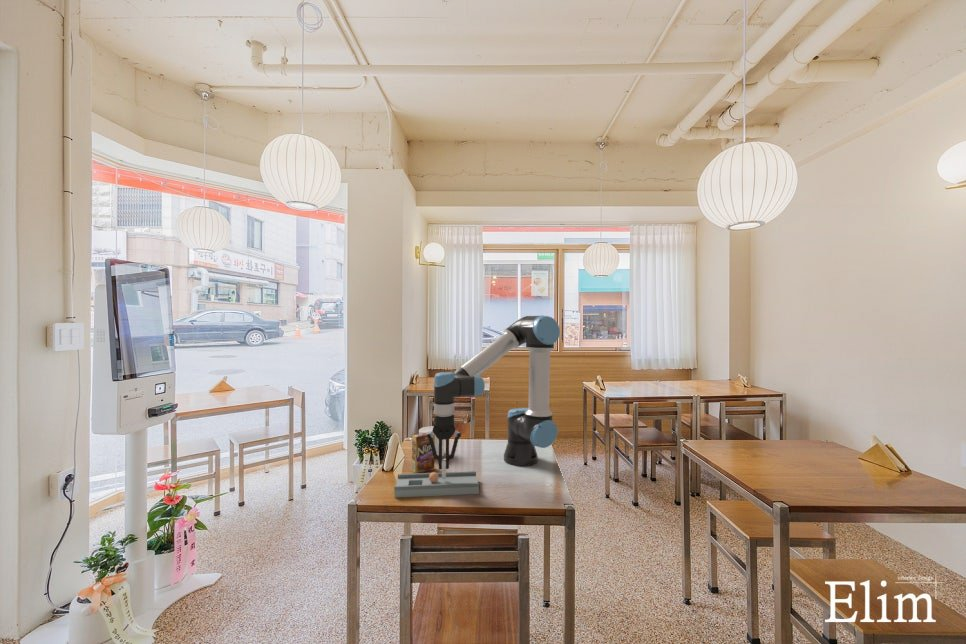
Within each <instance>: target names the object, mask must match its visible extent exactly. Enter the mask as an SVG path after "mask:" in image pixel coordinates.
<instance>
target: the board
mask: <svg viewBox="0 0 966 644" xmlns="http://www.w3.org/2000/svg"><path fill="white" fill-rule="evenodd" d="M431 473H432V472H425V473H424V472H420V473H416V474H415V473H398V474H397V479H396V482H395V483H396V484H395V485H394V486H393V487H394V494H393V495H394V498H396V499H397V498H414V497H415V498H416V497H432V496H433V497H434V496H435V497H439V496H440V497H441V496H456V495H457V496H458V495H459V496H461V495H462V496H463V495H464V496H465V495H479V494H480V483H479V481H478V477H477V471H476V470H473V471H471V470H470V471H449V472H448V471H446V479H442V472H436V473H437V474H438V476H439V479H438V481H437V482H435V483H432V482H431V481H430V480H429V475H430V474H431Z"/></svg>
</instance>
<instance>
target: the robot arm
mask: <svg viewBox="0 0 966 644" xmlns="http://www.w3.org/2000/svg"><path fill="white" fill-rule="evenodd" d="M560 334H561V331H560V325H559V324H558V322H557V321H556V319H555V318H553V317H552V316H548V315H526V316H523V317H521V318H519V319H518V320H515V322H513V323H512V324H511V325H509V326H508V327H506V328H505V329H504V330H503V333H502V334H501V335H500V336H499V337H497V338H496V339H495V340H493V341H492V342H491V343H490V344H488V345H487V346H486V347H485V348H483V349H482V350H481V351H480V352H478V353H477V354H476V355H474V356H473V357H472V358H470V359H469V360H467V362H465V363H464V364H463V365H462V366H460V367H458V368H457V369H456V370H454V371H449V372H448V371H447V372H446V371H445V372H444V371H442V372H436V373H435V375H434V380H433V394H434V395H433V414H434V416H433V426H434V427H433V430H432V431H431V432H428V433H427V437H428V439H429V440H430V444H431V448H432V452H433V457H434V459H435V460H437V462H438V469H439V470H441V473H442V479H446V472H447V470H449V468H450V460H454V458H455V454H456V451H457V446H458V442H459V439H460V438H461V436H462V433H461V431H458V430H456V427H455V415H454V414H455V398H465V397H466V398H467V397H477V396H482V395H483V394H484V392H485V380H484V378H483V377H482V376H480V375H481V374H482V373H484V371H486V370H487V369H489V368H490V367H492V366H493V365H494V364H495V363H496V362H497V361H499V360H500V359H501V358H503V357H504V356H505V355H506V354H507V353H509V352H510V351H512V350H513V349H514V348H515V349H517V348H519V347H520V346H521V345H524V344H525V348H526V349H527V350H528V353H529V356H528V357H529V361H528V362H529V363H528V364H529V368H528V369H529V370H528V407H520V408H519V407H518V408H511V409H509V410H508V412H507V417H506V418H507V444H506V447H505V450H504V452H503V462H505V463H506V464H509V465H512V466H520V467H521V466H523V467H524V466H525V467H526V466H532V465H535V464H536V463H538V461H539V460H538V459H539V457H538V453H537V449H536V447H538V448H541V449H545V448H549V447H550V446H551V445H552V444H553V443H554V442H555V441H556V439H557V437H558V433H559V432H558V431H559V430H558V426H557V424H556V423H555V422H554V421H553V415H554V414H553V412H552V411H551V410H550V375H551V370H550V369H551V352H552V351H553V350H554V349H555V343H557V341H558V339H559V337H560V336H561V335H560ZM433 434H435V436H436V437H437V438H438V439H439V455H437V453H436V448H435V444H434V440H433V436H434V435H433ZM453 435H454V439H453V444H452V448H451V452H450V439H451V438H452V437H453ZM442 440H444V441H445V458H443V456H442Z"/></svg>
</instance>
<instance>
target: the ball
mask: <svg viewBox="0 0 966 644" xmlns="http://www.w3.org/2000/svg"><path fill="white" fill-rule="evenodd" d="M430 473H431V474H430V475H429V480H430V481H431V482H432V483H435V482H437V481H438V479H439V476H438V474H437V473H438V472H435V471H433V472H430Z"/></svg>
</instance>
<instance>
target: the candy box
mask: <svg viewBox="0 0 966 644" xmlns="http://www.w3.org/2000/svg"><path fill="white" fill-rule="evenodd" d="M433 435H434V436H433V440H434V444H435V434H433ZM411 437H412V439H411V440H412V441H411V472H413V474H416V473H424V472H428V471H429V472H430V471H434V470H435V461H436V459H434V457H433V452H432V448H431V444H430V440H429V439H428V437H427V433H421V434H419V433H416V434H412V436H411Z"/></svg>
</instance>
